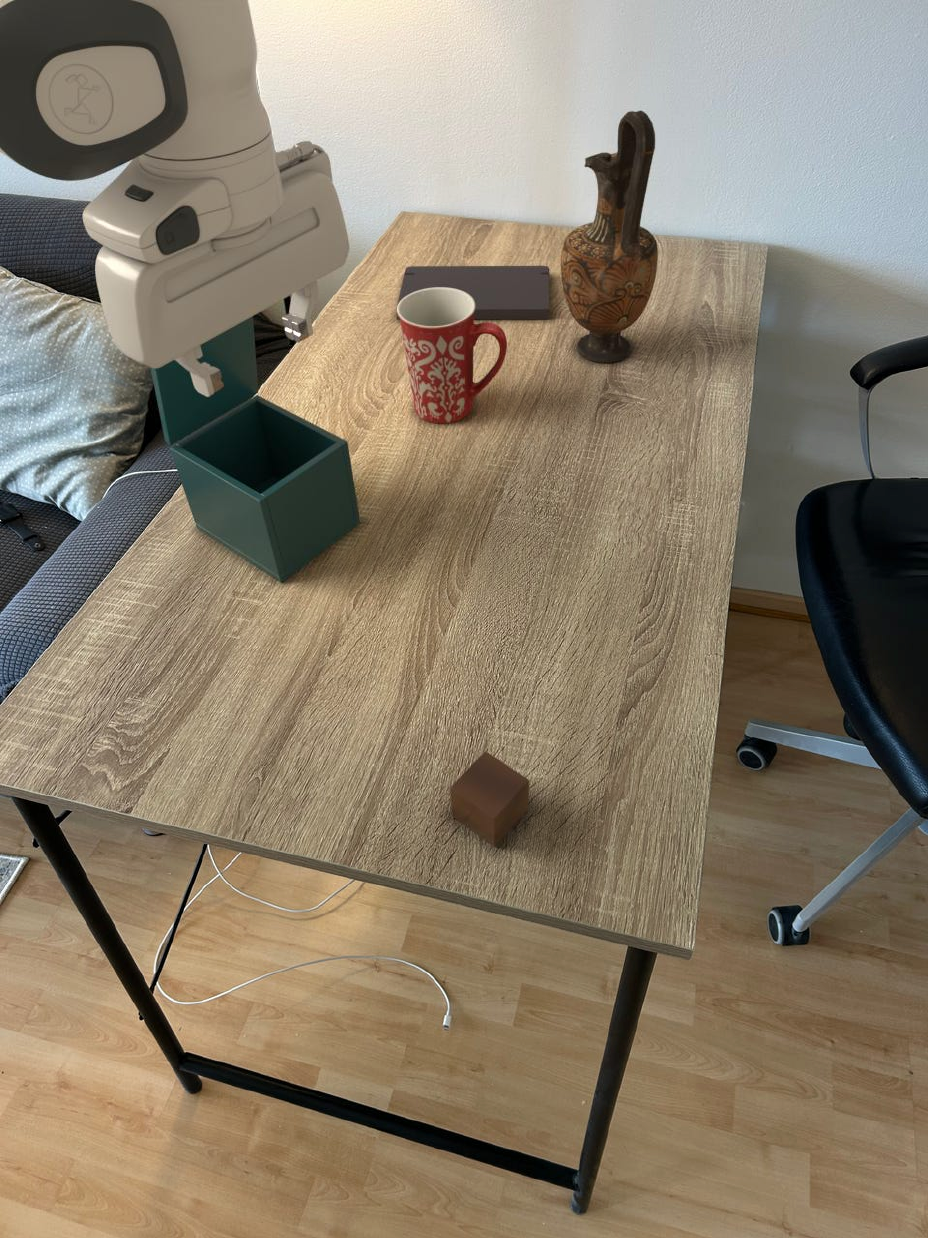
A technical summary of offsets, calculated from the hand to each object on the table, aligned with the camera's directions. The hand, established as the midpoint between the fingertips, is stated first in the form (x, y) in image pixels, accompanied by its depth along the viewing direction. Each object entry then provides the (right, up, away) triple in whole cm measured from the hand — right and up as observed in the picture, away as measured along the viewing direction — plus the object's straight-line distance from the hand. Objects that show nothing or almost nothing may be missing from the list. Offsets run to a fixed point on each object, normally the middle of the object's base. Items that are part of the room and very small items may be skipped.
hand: (256, 362), depth 70 cm
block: (+18, -36, +2) cm, 40 cm away
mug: (+15, +6, +40) cm, 44 cm away
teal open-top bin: (-4, -10, +27) cm, 29 cm away
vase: (+35, +15, +48) cm, 61 cm away
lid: (-8, +4, +15) cm, 18 cm away
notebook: (+18, +26, +59) cm, 67 cm away
